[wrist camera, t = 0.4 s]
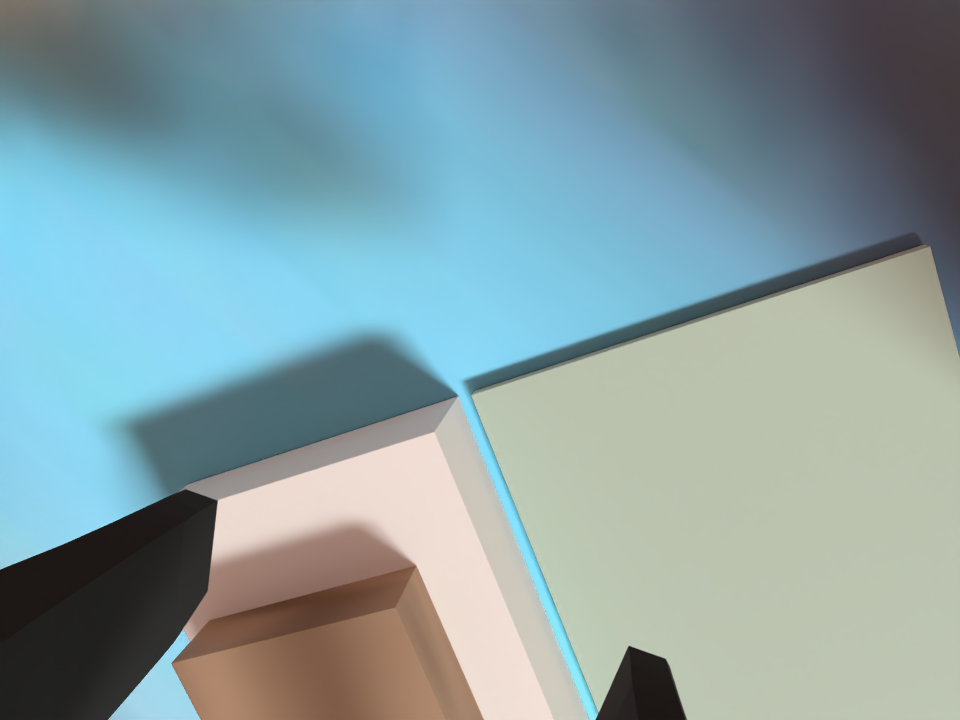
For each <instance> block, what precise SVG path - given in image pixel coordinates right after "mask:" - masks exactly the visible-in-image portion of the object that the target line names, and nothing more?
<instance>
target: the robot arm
mask: <svg viewBox="0 0 960 720" xmlns="http://www.w3.org/2000/svg"><path fill="white" fill-rule="evenodd" d="M217 504H218V500H215V499H212V498H209V497H207V496H204V495H201V494H198V493H195V492H192V491H190V490H187V489H185V490H182V491H180V492H178V493H175V494H173V495H171V496H169V497H166V498H164V499H162V500H160V501H158V502H156V503H153V504H151V505H149V506H147V507H145V508H143V509H141V510H138V511H136V512H134V513H132V514H130V515H128V516H126V517H123V518H121V519H119V520H117V521H115V522H113V523H110V524H108V525H106V526H104V527H101V528H99V529H97V530H95V531H92V532H90V533H88V534H86V535H84V536H81V537H79V538H77V539H75V540H72V541H70V542H68V543H65V544H63V545H61V546H58V547H56V548H53V549H51V550H48V551H46V552H43V553H41V554H38V555H36V556H33V557H31V558H28V559H26V560H23V561H21V562H18V563H16V564H13V565H11V566H8V567H6V568H3V569H1V570H0V720H108V719H109V718H110V717H111V715H112V714H113V713H114V712H115V711H116V710H117V708H118V707H119V706H120V705H121V704H122V703H123V702H124V700H125V699H126V698H127V697H128V696H129V695H130V693H131V692H132V691H133V690H134V689H135V688H136V686H137V685H138V684H139V683H140V682H141V681H142V679H143V678H144V677H145V676H146V675H147V674H148V672H149V671H150V670H151V669H152V668H153V667H154V665H155V664H156V663H157V662H158V661H159V659H160V658H161V657H162V656H163V655H164V654H165V652H166V651H167V650H168V649H169V648H170V646H171V645H172V644H173V643H174V641H175V640H176V638H177V637H178V635H179V634H180V632H181V631H182V630H183V628H184V627H185V625H186V624H187V622H188V621H189V619H190V618H191V616H192V615H193V613H194V612H195V610H196V609H197V607H198V606H199V604H200V602H201V601H202V599H203V598H204V596H205V595H206V593H207V592H208V585H209V576H210V567H211V558H212V549H213V540H214V531H215V522H216V513H217ZM596 720H687V718H686V715H685V712H684V709H683V706H682V703H681V700H680V697H679V694H678V691H677V688H676V685H675V681H674V678H673V675H672V672H671V669H670V666H669V664H668V662H667V660H666V659H665V658H662V657H660V656H657V655H654V654H651V653H648V652H645V651H643V650H640V649H637V648H634V647H631V646H628V648H627V650H626V653H625V655H624V657H623V659H622V662H621V664H620V666H619V668H618V671H617V673H616V675H615V677H614V680H613V682H612V684H611V686H610V689H609V691H608V693H607V695H606V698H605V700H604V702H603V704H602V707H601V709H600V711H599V714H598V716H597V718H596Z"/></svg>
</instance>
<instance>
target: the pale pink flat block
mask: <svg viewBox="0 0 960 720" xmlns="http://www.w3.org/2000/svg"><path fill="white" fill-rule="evenodd" d="M185 489H187V490H190V491H192V492H195V493H198V494H201V495H204V496H207V497H209V498H212V499H215V500H218V504H217V513H216V522H215V531H214V540H213V549H212V558H211V567H210V576H209V585H208V592H207V593H206V595H205V596H204V598H203V599H202V601H201V602H200V604H199V606H198V607H197V609H196V610H195V612H194V613H193V615H192V616H191V618H190V619H189V621H188V622H187V624H186V625H185V627H184V628H183V629H184V631H185V633H186V635H187V637H188V639H189V641H190V642H191V641H192V639H193V638H194V637H195V636H196V635H197V634H198V633H199V632H200V630H201V629H202V628H203V627H204V626H205V625H206V624H207V623H208V621H209V620H212V619H216V618H220V617H224V616H228V615H231V614H235V613H239V612H243V611H246V610H250V609H254V608H258V607H262V606H265V605H269V604H273V603H277V602H281V601H284V600H288V599H292V598H296V597H300V596H303V595H307V594H311V593H315V592H318V591H322V590H326V589H330V588H334V587H337V586H341V585H345V584H349V583H353V582H356V581H360V580H364V579H368V578H371V577H375V576H379V575H383V574H387V573H390V572H394V571H398V570H402V569H406V568H409V567H413V566H417V568H418V570H419V572H420V575H421V577H422V579H423V582H424V584H425V586H426V588H427V591H428V593H429V595H430V598H431V600H432V602H433V604H434V607H435V609H436V611H437V614H438V616H439V618H440V620H441V623H442V625H443V627H444V630H445V632H446V634H447V636H448V639H449V641H450V643H451V646H452V648H453V650H454V652H455V655H456V657H457V659H458V662H459V664H460V666H461V668H462V671H463V673H464V675H465V678H466V680H467V682H468V684H469V687H470V689H471V691H472V694H473V696H474V698H475V700H476V703H477V705H478V707H479V710H480V712H481V714H482V716H483V719H484V720H590V719H589V717H588V714H587V712H586V710H585V707H584V705H583V702H582V700H581V697H580V695H579V692H578V690H577V687H576V685H575V682H574V680H573V677H572V675H571V673H570V670H569V668H568V665H567V663H566V660H565V658H564V655H563V653H562V650H561V648H560V645H559V643H558V640H557V638H556V636H555V633H554V631H553V628H552V626H551V623H550V621H549V618H548V616H547V613H546V611H545V608H544V606H543V603H542V601H541V599H540V596H539V594H538V591H537V589H536V586H535V584H534V581H533V579H532V576H531V574H530V571H529V569H528V566H527V564H526V562H525V559H524V557H523V554H522V552H521V549H520V547H519V544H518V542H517V539H516V537H515V534H514V532H513V530H512V527H511V525H510V522H509V520H508V517H507V515H506V512H505V510H504V507H503V505H502V502H501V500H500V497H499V495H498V493H497V490H496V488H495V485H494V483H493V480H492V478H491V475H490V473H489V470H488V468H487V465H486V463H485V460H484V458H483V456H482V453H481V451H480V448H479V446H478V443H477V441H476V438H475V436H474V433H473V431H472V428H471V426H470V423H469V421H468V419H467V416H466V414H465V411H464V409H463V406H462V404H461V401H460V399H459V396H457V397H454V398H451V399H448V400H445V401H442V402H439V403H436V404H433V405H430V406H427V407H424V408H421V409H418V410H414V411H411V412H408V413H405V414H402V415H399V416H396V417H393V418H390V419H387V420H384V421H381V422H378V423H375V424H372V425H368V426H365V427H362V428H359V429H356V430H353V431H350V432H347V433H344V434H341V435H338V436H335V437H332V438H329V439H325V440H322V441H319V442H316V443H313V444H310V445H307V446H304V447H301V448H298V449H295V450H292V451H289V452H286V453H282V454H279V455H276V456H273V457H270V458H267V459H264V460H261V461H258V462H255V463H252V464H249V465H246V466H243V467H240V468H236V469H233V470H230V471H227V472H224V473H221V474H218V475H215V476H212V477H209V478H206V479H203V480H200V481H197V482H193V483H190V484H187V485H186V486H185V487H183V488H182V489H181V490H180V491H182V490H185ZM180 491H178V492H180ZM178 492H177V493H178Z"/></svg>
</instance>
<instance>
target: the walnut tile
mask: <svg viewBox="0 0 960 720" xmlns="http://www.w3.org/2000/svg"><path fill="white" fill-rule="evenodd" d="M171 664H172V666H173V668H174V670H175V672H176V673H177V675H178V677H179V679H180V681H181V683H182V685H183V687H184V689H185V691H186V693H187V694H188V696H189V698H190V700H191V702H192V704H193V706H194V708H195V710H196V712H197V714H198V715H199V717H200V719H201V720H484V719H483V716H482V714H481V712H480V710H479V707H478V705H477V703H476V700H475V698H474V696H473V694H472V691H471V689H470V687H469V684H468V682H467V680H466V678H465V675H464V673H463V671H462V668H461V666H460V664H459V662H458V659H457V657H456V655H455V652H454V650H453V648H452V646H451V643H450V641H449V639H448V636H447V634H446V632H445V630H444V627H443V625H442V623H441V620H440V618H439V616H438V614H437V611H436V609H435V607H434V604H433V602H432V600H431V598H430V595H429V593H428V591H427V588H426V586H425V584H424V582H423V579H422V577H421V575H420V572H419V570H418V568H417V566H413V567H409V568H406V569H402V570H398V571H394V572H390V573H387V574H383V575H379V576H375V577H371V578H368V579H364V580H360V581H356V582H353V583H349V584H345V585H341V586H337V587H334V588H330V589H326V590H322V591H318V592H315V593H311V594H307V595H303V596H300V597H296V598H292V599H288V600H284V601H281V602H277V603H273V604H269V605H265V606H262V607H258V608H254V609H250V610H246V611H243V612H239V613H235V614H231V615H228V616H224V617H220V618H216V619H212V620H209V621H208V623H207V624H206V625H205V626H204V627H203V628H202V629H201V630H200V632H199V633H198V634H197V635H196V636H195V637H194V638H193V639H192V641H191V642H190V643H189V644H188V645H187V646H186V647H185V649H184V650H183V651H182V652H181V653H180V654H179V655H178V656H177V658H176V659H175V660H174V661H173V662H172V663H171Z"/></svg>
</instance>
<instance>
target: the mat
mask: <svg viewBox="0 0 960 720" xmlns="http://www.w3.org/2000/svg"><path fill="white" fill-rule="evenodd" d="M471 396H472V399H473V401H474V404H475V406H476V409H477V411H478V414H479V416H480V419H481V421H482V424H483V426H484V429H485V431H486V434H487V436H488V439H489V441H490V444H491V446H492V449H493V451H494V454H495V456H496V459H497V461H498V464H499V466H500V469H501V471H502V474H503V476H504V479H505V481H506V484H507V486H508V489H509V491H510V493H511V496H512V498H513V501H514V503H515V506H516V508H517V511H518V513H519V516H520V518H521V521H522V523H523V526H524V528H525V531H526V533H527V536H528V538H529V541H530V543H531V546H532V548H533V551H534V553H535V556H536V558H537V561H538V563H539V566H540V568H541V571H542V573H543V576H544V578H545V581H546V583H547V586H548V588H549V591H550V593H551V596H552V598H553V600H554V603H555V605H556V608H557V610H558V613H559V615H560V618H561V620H562V623H563V625H564V628H565V630H566V633H567V635H568V638H569V640H570V643H571V645H572V648H573V650H574V653H575V655H576V658H577V660H578V663H579V665H580V668H581V670H582V673H583V675H584V678H585V680H586V683H587V685H588V688H589V690H590V693H591V695H592V698H593V700H594V703H595V705H596V707H597V710H598V712H599V711H600V709H601V707H602V704H603V702H604V700H605V698H606V695H607V693H608V691H609V689H610V686H611V684H612V682H613V680H614V677H615V675H616V673H617V671H618V668H619V666H620V664H621V662H622V659H623V657H624V655H625V653H626V650H627V648H628V646H631V647H634V648H637V649H640V650H643V651H645V652H648V653H651V654H654V655H657V656H660V657H662V658H665V659H666V660H667V662H668V664H669V666H670V669H671V672H672V675H673V678H674V681H675V685H676V688H677V691H678V694H679V697H680V700H681V703H682V706H683V709H684V712H685V715H686V718H687V720H960V357H959V354H958V350H957V346H956V342H955V339H954V335H953V331H952V327H951V323H950V320H949V316H948V312H947V308H946V304H945V301H944V297H943V293H942V289H941V286H940V282H939V278H938V274H937V270H936V267H935V263H934V259H933V255H932V251H931V248H930V246H927V245H921V246H918V247H915V248H912V249H909V250H906V251H903V252H899V253H896V254H893V255H890V256H887V257H884V258H881V259H878V260H875V261H872V262H869V263H866V264H863V265H860V266H856V267H853V268H850V269H847V270H844V271H841V272H838V273H835V274H832V275H829V276H826V277H823V278H820V279H817V280H814V281H810V282H807V283H804V284H801V285H798V286H795V287H792V288H789V289H786V290H783V291H780V292H777V293H774V294H771V295H767V296H764V297H761V298H758V299H755V300H752V301H749V302H746V303H743V304H740V305H737V306H734V307H731V308H728V309H724V310H721V311H718V312H715V313H712V314H709V315H706V316H703V317H700V318H697V319H694V320H691V321H688V322H685V323H682V324H678V325H675V326H672V327H669V328H666V329H663V330H660V331H657V332H654V333H651V334H648V335H645V336H642V337H639V338H635V339H632V340H629V341H626V342H623V343H620V344H617V345H614V346H611V347H608V348H605V349H602V350H599V351H596V352H593V353H589V354H586V355H583V356H580V357H577V358H574V359H571V360H568V361H565V362H562V363H559V364H556V365H553V366H550V367H546V368H543V369H540V370H537V371H534V372H531V373H528V374H525V375H522V376H519V377H516V378H513V379H510V380H507V381H503V382H500V383H497V384H494V385H491V386H488V387H485V388H482V389H479V390H476V391H474V392H473V393H472V395H471Z"/></svg>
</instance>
